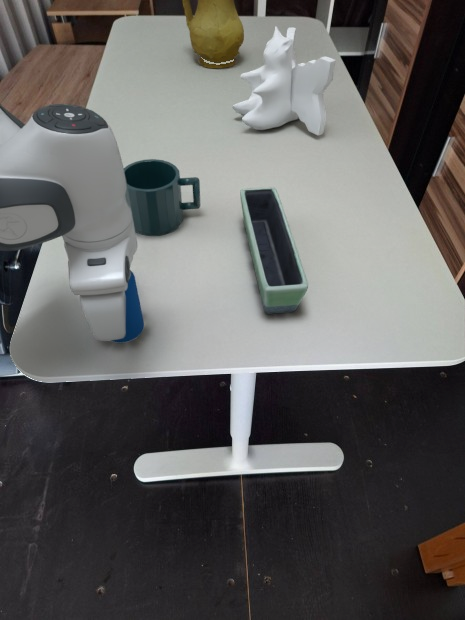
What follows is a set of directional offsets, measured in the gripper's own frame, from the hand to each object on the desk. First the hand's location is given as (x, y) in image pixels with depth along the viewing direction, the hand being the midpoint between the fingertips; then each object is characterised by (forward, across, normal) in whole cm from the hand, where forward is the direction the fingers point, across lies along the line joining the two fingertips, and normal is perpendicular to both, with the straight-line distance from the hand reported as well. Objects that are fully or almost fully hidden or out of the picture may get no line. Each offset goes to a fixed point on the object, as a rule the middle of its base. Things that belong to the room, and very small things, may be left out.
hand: (119, 310), depth 67 cm
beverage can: (+5, 0, 0) cm, 5 cm away
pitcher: (+5, -113, +29) cm, 117 cm away
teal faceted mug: (+5, -28, +8) cm, 30 cm away
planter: (+5, -12, +26) cm, 29 cm away
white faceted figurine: (+5, -68, +39) cm, 78 cm away
